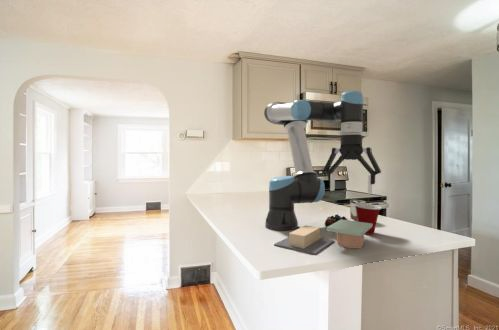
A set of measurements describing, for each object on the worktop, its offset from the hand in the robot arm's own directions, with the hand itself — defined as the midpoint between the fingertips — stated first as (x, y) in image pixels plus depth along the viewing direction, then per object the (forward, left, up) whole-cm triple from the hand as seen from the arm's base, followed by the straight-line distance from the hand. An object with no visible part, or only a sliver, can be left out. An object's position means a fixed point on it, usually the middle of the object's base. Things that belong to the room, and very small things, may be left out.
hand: (350, 191), depth 103 cm
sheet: (0, 0, -14) cm, 14 cm away
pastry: (-13, +23, -20) cm, 33 cm away
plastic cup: (+1, +21, -20) cm, 29 cm away
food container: (-8, +43, -20) cm, 48 cm away
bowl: (0, 0, -20) cm, 20 cm away
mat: (-14, -9, -20) cm, 26 cm away
